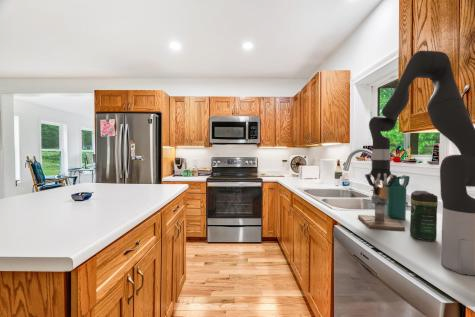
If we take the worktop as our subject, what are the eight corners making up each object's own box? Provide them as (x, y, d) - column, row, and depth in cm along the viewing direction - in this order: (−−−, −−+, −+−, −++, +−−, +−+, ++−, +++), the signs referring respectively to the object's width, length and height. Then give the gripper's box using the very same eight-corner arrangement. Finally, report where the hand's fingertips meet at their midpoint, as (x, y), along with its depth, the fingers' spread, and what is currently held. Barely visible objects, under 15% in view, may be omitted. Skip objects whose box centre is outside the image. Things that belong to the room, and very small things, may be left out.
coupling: (392, 205, 111) (392, 188, 110) (375, 204, 112) (375, 187, 112) (383, 201, 120) (384, 185, 120) (368, 200, 121) (368, 184, 121)
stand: (404, 230, 106) (405, 208, 106) (369, 228, 109) (370, 207, 108) (387, 219, 123) (388, 200, 123) (358, 217, 126) (358, 199, 126)
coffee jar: (439, 243, 91) (441, 193, 91) (414, 240, 94) (415, 192, 94) (430, 235, 100) (431, 190, 100) (407, 232, 103) (408, 188, 103)
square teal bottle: (388, 218, 125) (389, 175, 125) (382, 214, 133) (383, 174, 133) (410, 220, 123) (411, 176, 122) (403, 215, 131) (404, 174, 130)
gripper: (367, 159, 113) (366, 196, 113) (400, 159, 110) (400, 197, 111) (362, 158, 120) (361, 193, 121) (393, 158, 117) (392, 194, 118)
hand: (380, 195), depth 116 cm, fingers closed on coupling, 2 cm apart
